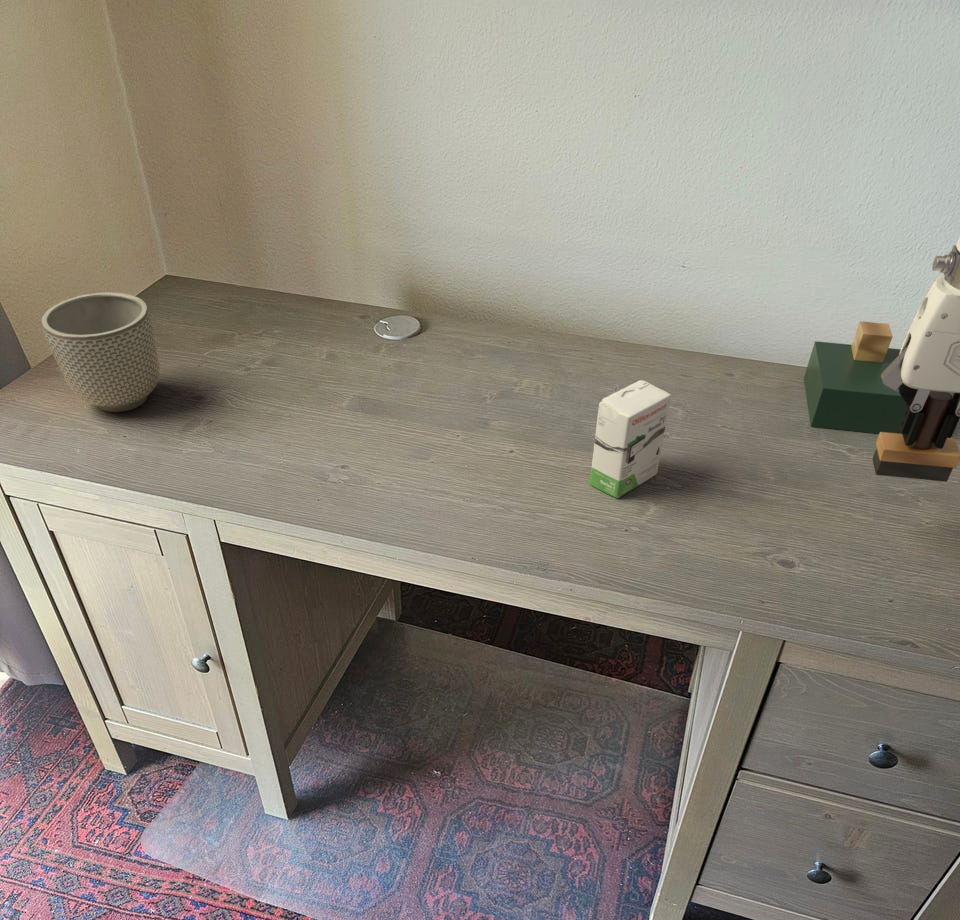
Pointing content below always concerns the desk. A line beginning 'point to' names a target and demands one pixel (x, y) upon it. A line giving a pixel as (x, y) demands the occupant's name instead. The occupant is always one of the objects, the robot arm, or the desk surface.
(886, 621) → the desk surface
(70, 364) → the planter
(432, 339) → the desk surface
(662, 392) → the ink box
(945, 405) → the brush
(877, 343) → the tan wooden cube
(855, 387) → the enamel box
